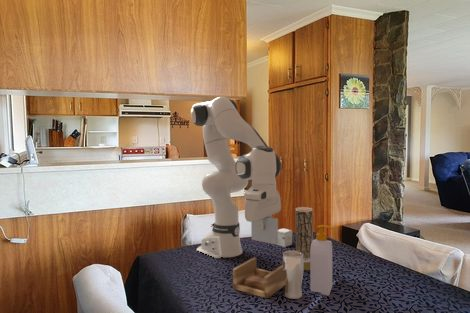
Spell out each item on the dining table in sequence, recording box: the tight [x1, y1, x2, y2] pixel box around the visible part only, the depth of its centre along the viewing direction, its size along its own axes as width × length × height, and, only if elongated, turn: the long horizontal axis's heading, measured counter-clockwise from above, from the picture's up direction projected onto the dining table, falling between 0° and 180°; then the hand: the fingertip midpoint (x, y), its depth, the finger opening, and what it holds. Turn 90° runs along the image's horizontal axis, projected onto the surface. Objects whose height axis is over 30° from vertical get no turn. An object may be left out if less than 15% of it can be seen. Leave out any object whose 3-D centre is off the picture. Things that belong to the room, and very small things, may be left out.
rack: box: [232, 257, 285, 299], centre depth 123 cm, size 14×14×8 cm
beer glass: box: [282, 250, 305, 300], centre depth 116 cm, size 7×7×15 cm
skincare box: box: [275, 228, 293, 248], centre depth 173 cm, size 6×6×7 cm
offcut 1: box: [245, 275, 264, 288], centre depth 121 cm, size 8×4×2 cm, turn 59°
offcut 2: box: [244, 282, 264, 291], centre depth 122 cm, size 9×4×2 cm, turn 55°
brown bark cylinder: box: [295, 206, 314, 271], centre depth 140 cm, size 7×7×25 cm
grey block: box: [250, 216, 279, 245], centre depth 125 cm, size 10×2×9 cm, turn 55°
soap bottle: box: [309, 224, 333, 296], centre depth 121 cm, size 9×7×23 cm
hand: (264, 228), depth 125 cm, fingers closed on grey block, 2 cm apart
